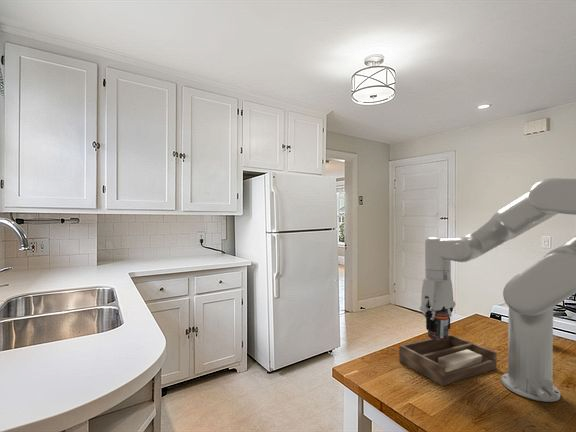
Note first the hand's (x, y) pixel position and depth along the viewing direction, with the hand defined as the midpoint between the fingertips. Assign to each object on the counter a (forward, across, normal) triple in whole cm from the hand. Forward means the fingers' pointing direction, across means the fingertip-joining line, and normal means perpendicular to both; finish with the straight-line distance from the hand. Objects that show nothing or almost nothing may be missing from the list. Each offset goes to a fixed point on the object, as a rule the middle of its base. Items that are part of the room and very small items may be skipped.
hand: (438, 328), depth 99 cm
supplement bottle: (+3, 0, 0) cm, 3 cm away
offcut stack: (+11, 0, +7) cm, 13 cm away
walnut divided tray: (+10, 0, +3) cm, 11 cm away
